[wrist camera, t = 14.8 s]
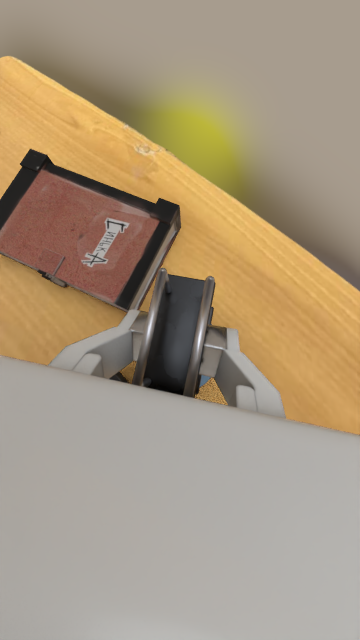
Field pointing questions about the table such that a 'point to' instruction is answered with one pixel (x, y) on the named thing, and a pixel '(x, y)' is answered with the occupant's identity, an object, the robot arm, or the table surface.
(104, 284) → the book
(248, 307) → the table surface
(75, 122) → the table surface
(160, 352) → the clip
